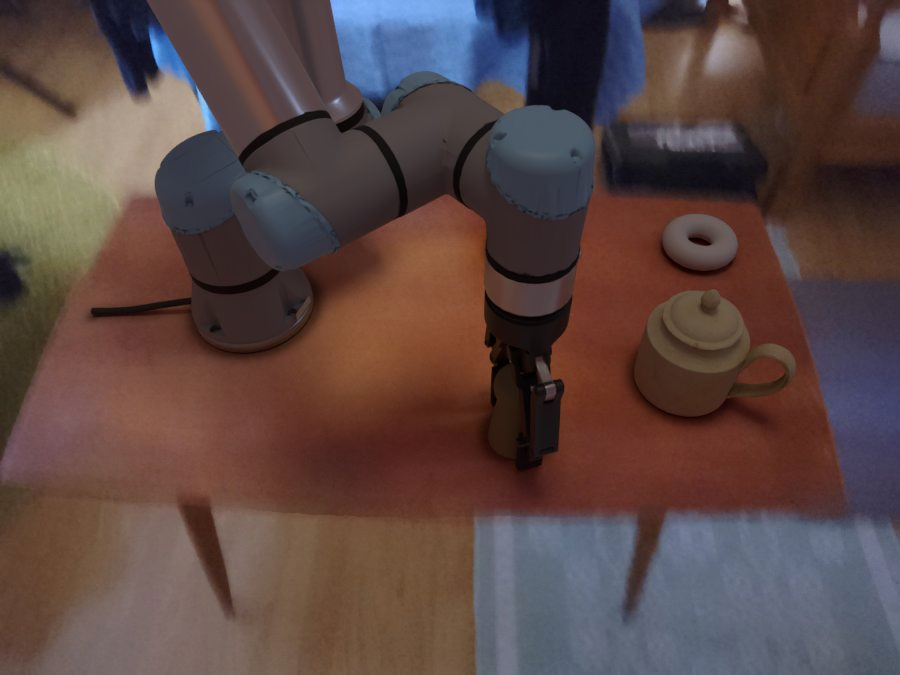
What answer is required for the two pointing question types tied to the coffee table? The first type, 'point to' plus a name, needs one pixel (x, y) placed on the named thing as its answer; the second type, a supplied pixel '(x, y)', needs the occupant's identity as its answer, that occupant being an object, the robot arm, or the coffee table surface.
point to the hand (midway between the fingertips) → (514, 432)
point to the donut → (698, 255)
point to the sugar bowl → (701, 355)
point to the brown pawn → (505, 415)
